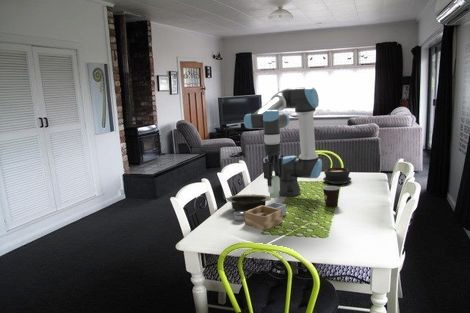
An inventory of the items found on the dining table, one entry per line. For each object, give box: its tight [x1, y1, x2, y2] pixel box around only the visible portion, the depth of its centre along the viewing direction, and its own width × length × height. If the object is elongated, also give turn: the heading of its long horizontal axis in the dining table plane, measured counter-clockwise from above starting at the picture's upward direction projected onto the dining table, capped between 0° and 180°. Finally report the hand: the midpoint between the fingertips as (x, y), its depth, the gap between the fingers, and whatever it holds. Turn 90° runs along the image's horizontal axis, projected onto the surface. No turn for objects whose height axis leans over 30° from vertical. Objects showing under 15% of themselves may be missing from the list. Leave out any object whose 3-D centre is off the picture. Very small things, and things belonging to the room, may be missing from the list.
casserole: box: [322, 167, 352, 185], centre depth 256 cm, size 25×19×8 cm
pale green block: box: [269, 175, 280, 199], centre depth 180 cm, size 4×4×10 cm
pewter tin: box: [233, 210, 246, 223], centre depth 190 cm, size 6×6×5 cm
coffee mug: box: [322, 185, 340, 209], centre depth 207 cm, size 12×9×10 cm
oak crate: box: [244, 205, 284, 231], centre depth 183 cm, size 13×13×7 cm
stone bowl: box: [225, 193, 272, 212], centre depth 207 cm, size 25×25×9 cm
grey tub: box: [265, 201, 287, 217], centre depth 194 cm, size 8×8×6 cm
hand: (274, 191), depth 181 cm, fingers closed on pale green block, 4 cm apart
